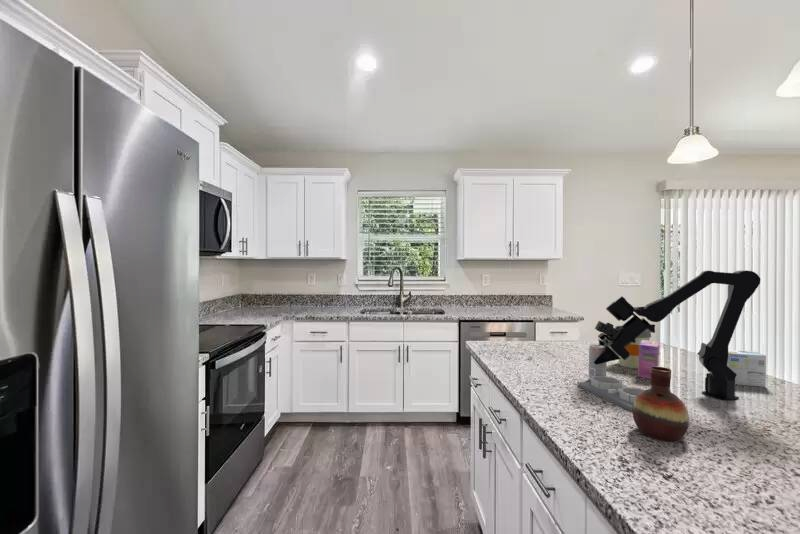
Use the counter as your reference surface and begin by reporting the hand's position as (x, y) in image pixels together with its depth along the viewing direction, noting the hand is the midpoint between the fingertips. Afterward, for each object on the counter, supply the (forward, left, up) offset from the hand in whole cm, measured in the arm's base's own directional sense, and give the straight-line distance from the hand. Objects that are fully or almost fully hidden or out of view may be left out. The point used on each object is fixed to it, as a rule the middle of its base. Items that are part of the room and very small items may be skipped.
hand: (593, 361), depth 132 cm
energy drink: (-1, -1, -7) cm, 7 cm away
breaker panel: (-16, +3, -7) cm, 17 cm away
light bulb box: (-11, -50, -7) cm, 52 cm away
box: (+2, -25, -7) cm, 26 cm away
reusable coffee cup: (+15, -30, -7) cm, 35 cm away
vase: (-40, +14, -7) cm, 43 cm away
